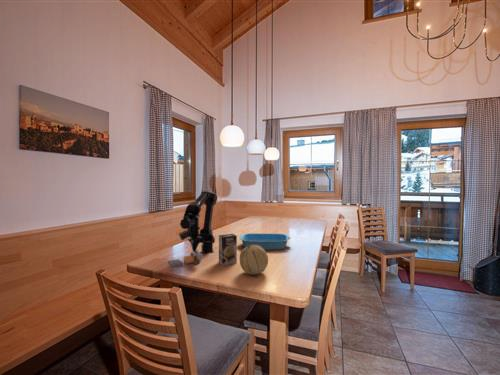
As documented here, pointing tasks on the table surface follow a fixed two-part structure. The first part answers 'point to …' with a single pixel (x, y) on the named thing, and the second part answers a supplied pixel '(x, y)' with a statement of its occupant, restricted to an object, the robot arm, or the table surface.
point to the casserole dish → (265, 240)
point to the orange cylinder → (189, 259)
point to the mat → (176, 263)
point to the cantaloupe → (253, 259)
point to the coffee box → (227, 249)
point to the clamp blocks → (195, 259)
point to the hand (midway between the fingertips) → (194, 251)
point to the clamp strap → (197, 254)
